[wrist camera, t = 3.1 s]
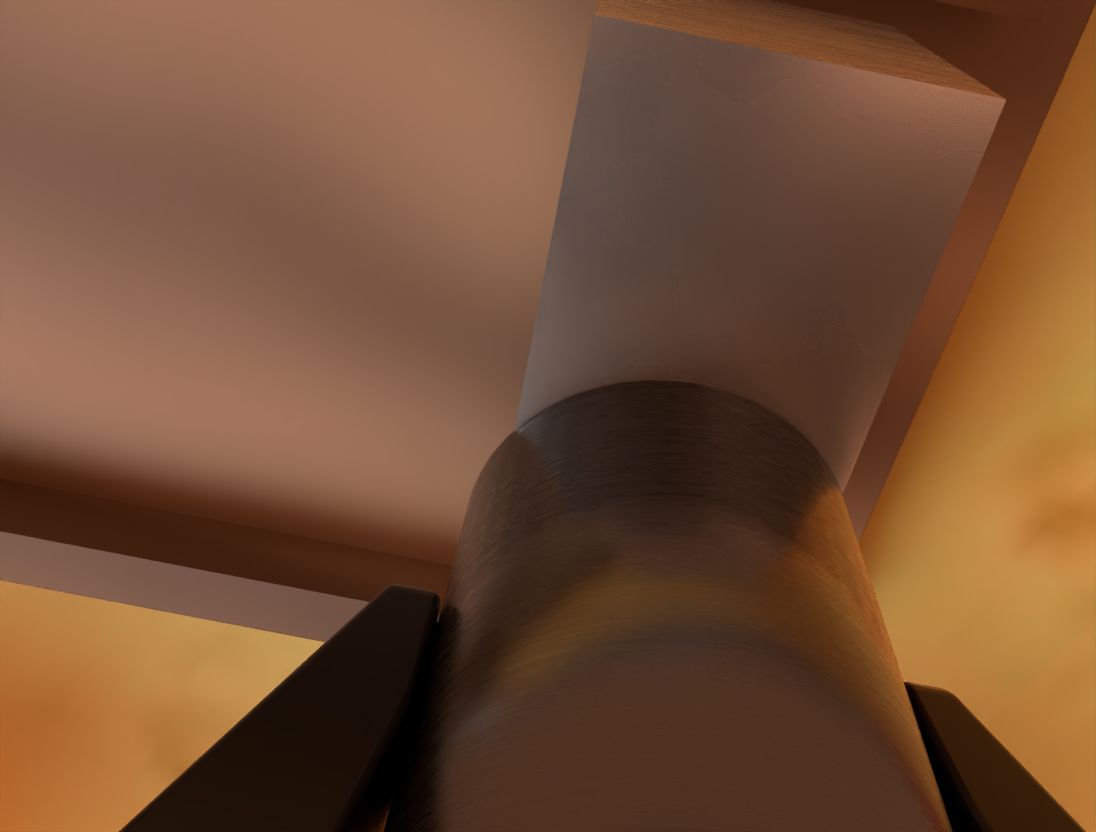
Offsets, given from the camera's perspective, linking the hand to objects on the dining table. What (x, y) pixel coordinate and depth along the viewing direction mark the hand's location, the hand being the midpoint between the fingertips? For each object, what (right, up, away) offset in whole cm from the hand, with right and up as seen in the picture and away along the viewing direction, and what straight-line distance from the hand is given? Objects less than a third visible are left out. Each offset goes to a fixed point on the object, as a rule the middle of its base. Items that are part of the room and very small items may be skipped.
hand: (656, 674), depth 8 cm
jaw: (0, +3, +5) cm, 5 cm away
